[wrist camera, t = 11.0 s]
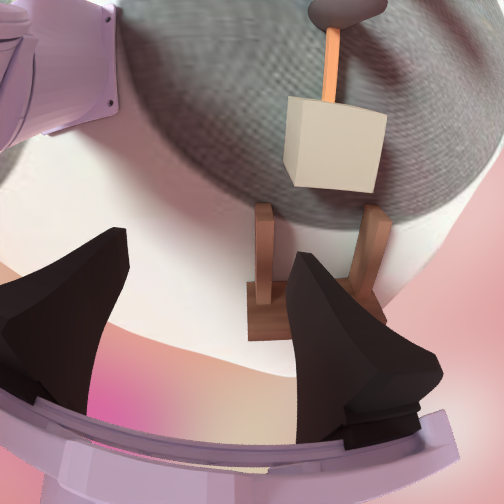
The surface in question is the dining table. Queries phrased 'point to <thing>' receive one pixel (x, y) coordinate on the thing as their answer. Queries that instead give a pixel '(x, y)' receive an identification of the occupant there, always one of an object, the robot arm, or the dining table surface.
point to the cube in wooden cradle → (357, 284)
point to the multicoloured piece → (334, 115)
